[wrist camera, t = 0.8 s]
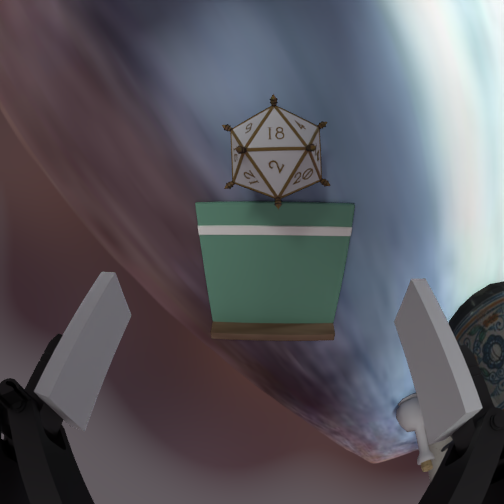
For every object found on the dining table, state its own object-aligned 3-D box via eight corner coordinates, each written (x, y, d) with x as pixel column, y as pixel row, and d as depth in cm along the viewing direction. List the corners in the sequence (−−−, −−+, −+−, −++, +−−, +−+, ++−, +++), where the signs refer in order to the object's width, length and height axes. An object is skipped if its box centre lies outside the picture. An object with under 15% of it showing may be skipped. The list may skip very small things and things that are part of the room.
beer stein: (524, 303, 36) (579, 409, 15) (451, 366, 45) (484, 475, 24) (502, 261, 31) (584, 399, 10) (412, 342, 41) (450, 486, 20)
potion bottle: (399, 412, 56) (411, 478, 41) (390, 401, 52) (403, 475, 37) (432, 397, 52) (449, 464, 38) (427, 385, 49) (446, 459, 34)
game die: (286, 119, 28) (357, 98, 19) (289, 201, 30) (363, 208, 21) (200, 114, 24) (252, 76, 15) (204, 207, 26) (258, 216, 17)
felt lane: (196, 202, 30) (195, 204, 29) (353, 203, 29) (355, 206, 28) (213, 319, 39) (212, 322, 39) (332, 320, 38) (333, 324, 38)
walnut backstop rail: (213, 319, 39) (210, 332, 37) (332, 320, 38) (335, 334, 36) (214, 325, 40) (211, 338, 38) (331, 326, 39) (333, 340, 37)
